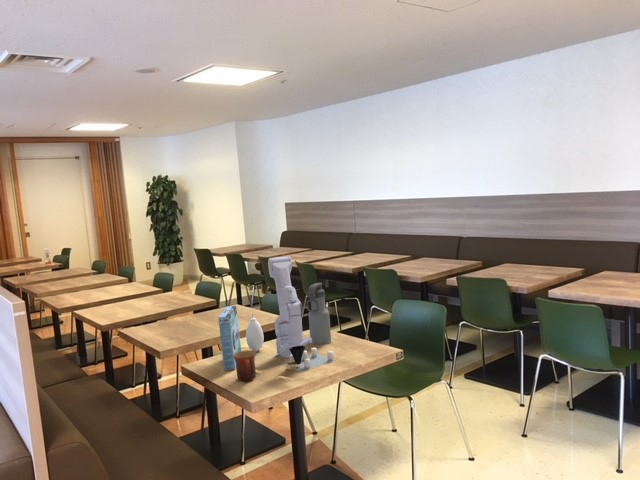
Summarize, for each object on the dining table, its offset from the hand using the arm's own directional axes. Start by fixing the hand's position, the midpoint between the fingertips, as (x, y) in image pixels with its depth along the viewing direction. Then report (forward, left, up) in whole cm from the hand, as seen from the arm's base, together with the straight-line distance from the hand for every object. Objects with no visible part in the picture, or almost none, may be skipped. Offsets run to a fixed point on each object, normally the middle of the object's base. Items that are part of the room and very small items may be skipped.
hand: (298, 363), depth 211 cm
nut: (0, -3, -1) cm, 3 cm away
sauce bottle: (-34, 0, -2) cm, 34 cm away
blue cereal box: (-28, -15, -2) cm, 32 cm away
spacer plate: (0, +6, -2) cm, 6 cm away
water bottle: (-20, +27, -2) cm, 33 cm away
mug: (-4, -21, -2) cm, 22 cm away
